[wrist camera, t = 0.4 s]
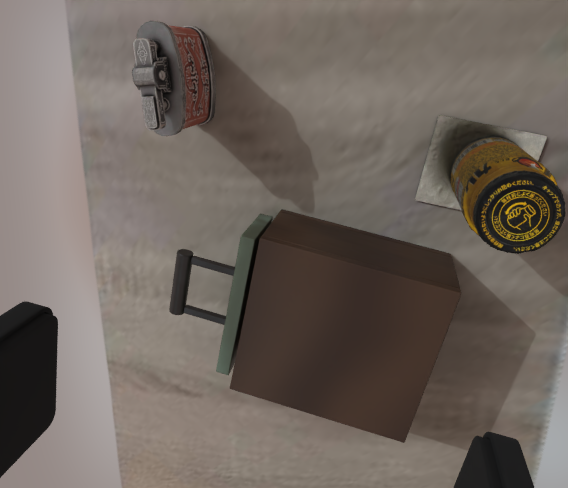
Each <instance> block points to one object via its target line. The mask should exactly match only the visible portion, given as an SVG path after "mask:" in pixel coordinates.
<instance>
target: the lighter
mask: <svg viewBox="0 0 568 488" xmlns="http://www.w3.org/2000/svg"><path fill="white" fill-rule="evenodd" d="M133 48H134V54H135V61H136V63H135V64H134V68H133V70H132V75H133V81H134V84H135V85H136V86H137V88H138V90H140V94H141V100H142V107H143V113H144V120H145V125H146V128H147V129H148V130H152V131H155V132H156V133H157V134H159V135H161V136H171V135H175V134H177V133H179V132H180V131H181V130H182V129H185V128H188V127H191V126H194V125H203V124H206V123H208V122H209V121H211V120H212V118H213V117H214V113H215V99H216V88H215V73H214V67H213V61H212V55H211V52H210V48H209V45H208V41H207V37H206V35H205V33H204V32H203V31H202V30H201V29H199V28H197V27H193V26H185V27H175V26H168V25H167V24H165V23H163V22H157V21H149V22H146V23H144V24H143V25H142V26H141V27H140V28H139V30H138V32H137V39H136V40H135V41H134V43H133Z"/></svg>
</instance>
